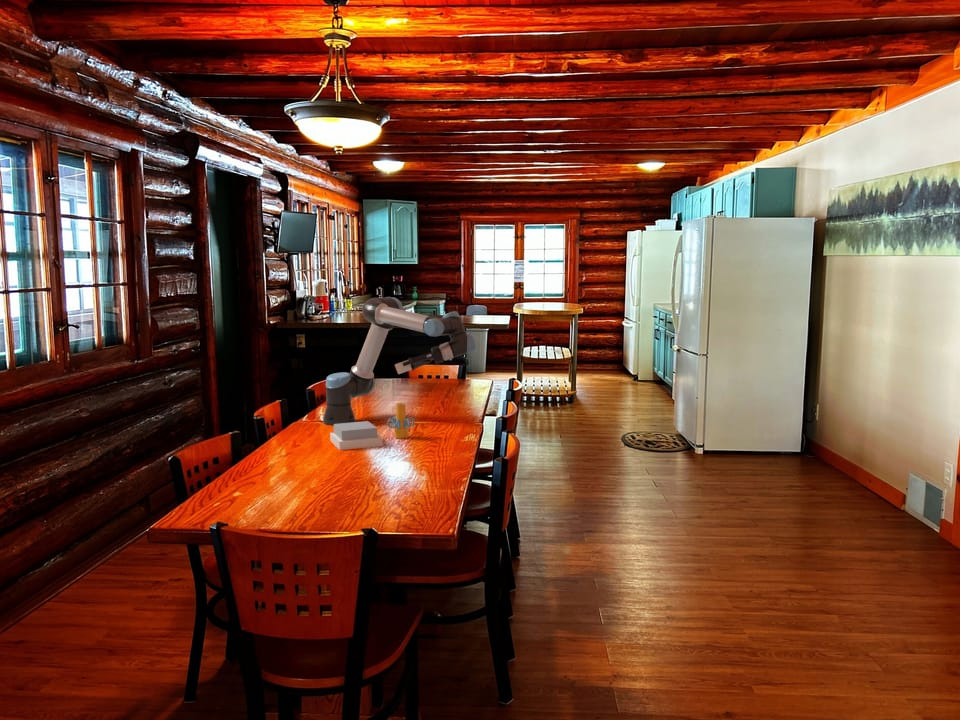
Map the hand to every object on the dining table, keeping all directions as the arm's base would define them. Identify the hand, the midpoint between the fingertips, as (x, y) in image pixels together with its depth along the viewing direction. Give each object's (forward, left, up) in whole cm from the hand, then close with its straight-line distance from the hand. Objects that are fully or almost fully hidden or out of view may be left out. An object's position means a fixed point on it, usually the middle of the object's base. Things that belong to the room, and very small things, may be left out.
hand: (396, 369), depth 318 cm
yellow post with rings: (+5, 0, -30) cm, 30 cm away
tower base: (+9, -21, -30) cm, 37 cm away
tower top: (+8, -21, -26) cm, 34 cm away
